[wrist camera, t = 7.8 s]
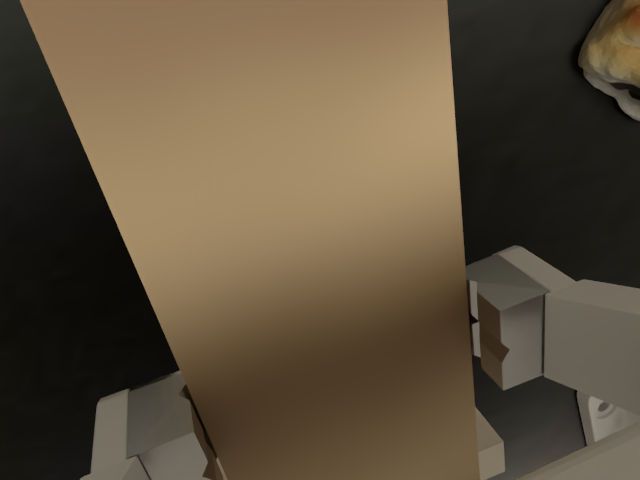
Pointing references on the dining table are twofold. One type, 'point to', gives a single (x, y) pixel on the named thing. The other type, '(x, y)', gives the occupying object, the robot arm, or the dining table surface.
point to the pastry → (615, 54)
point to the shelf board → (288, 219)
